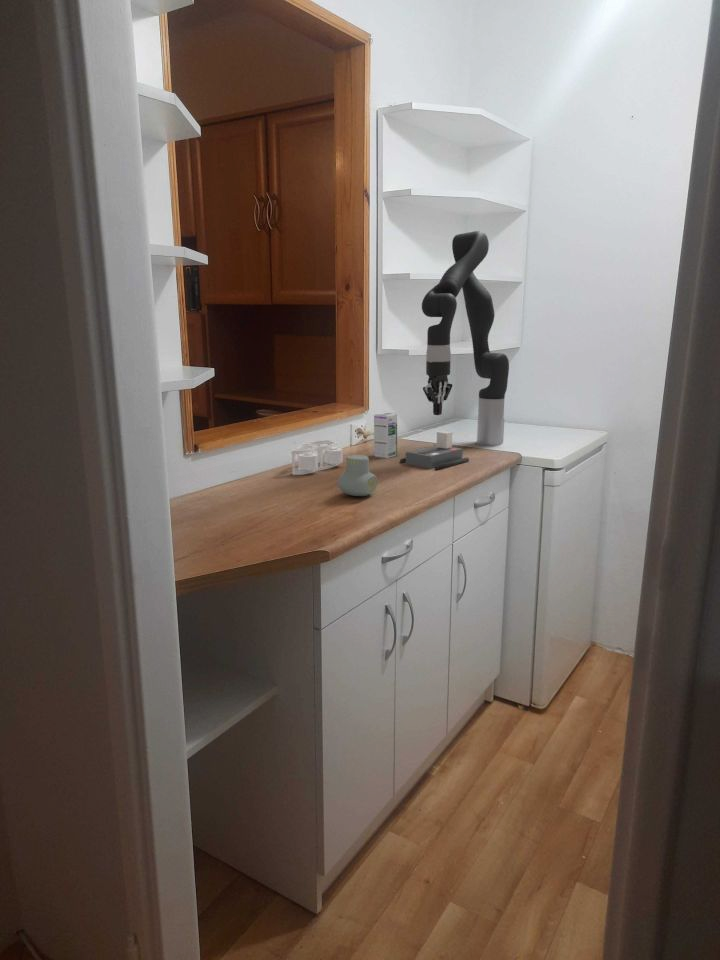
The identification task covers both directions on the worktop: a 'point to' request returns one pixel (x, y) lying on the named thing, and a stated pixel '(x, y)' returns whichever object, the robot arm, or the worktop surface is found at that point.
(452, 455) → the breaker panel
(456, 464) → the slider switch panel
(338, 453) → the skeletal toy car
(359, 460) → the air freshener
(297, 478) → the worktop surface
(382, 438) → the syrup box
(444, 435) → the handle
